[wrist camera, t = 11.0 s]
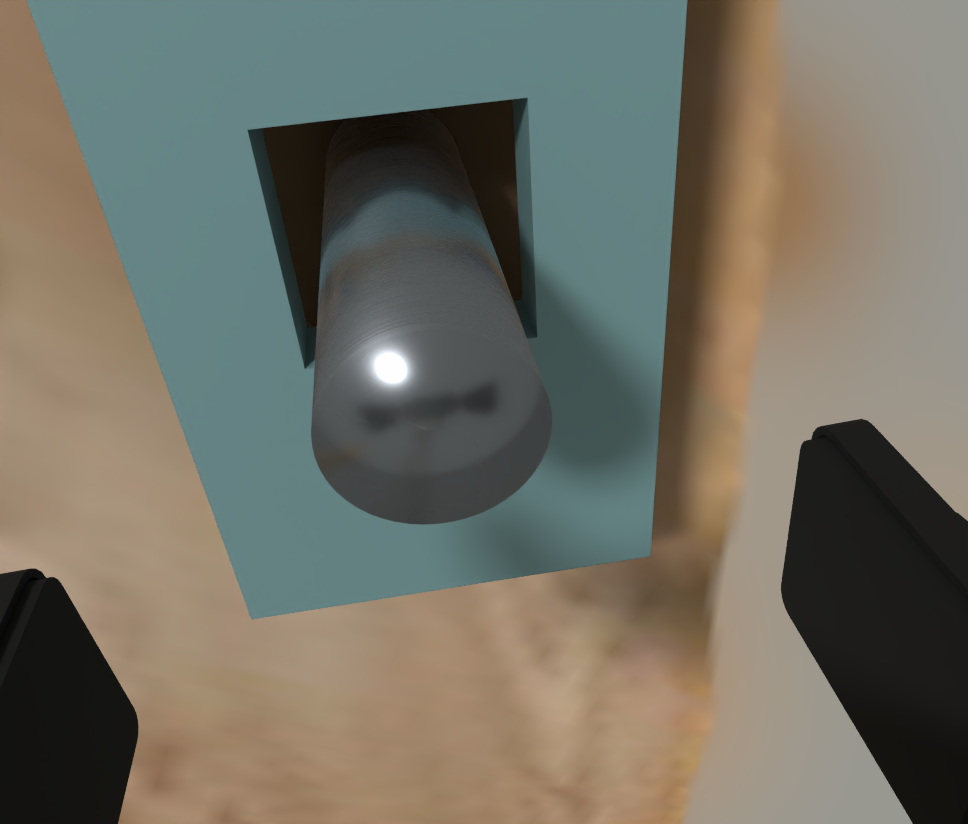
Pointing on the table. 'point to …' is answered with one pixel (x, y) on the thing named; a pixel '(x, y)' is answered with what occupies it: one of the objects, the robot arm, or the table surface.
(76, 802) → the robot arm
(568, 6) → the hole bridge
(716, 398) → the table surface
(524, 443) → the tall pin
